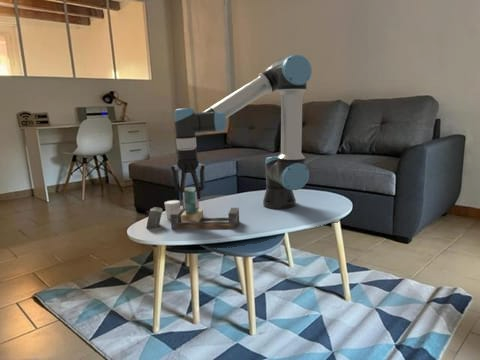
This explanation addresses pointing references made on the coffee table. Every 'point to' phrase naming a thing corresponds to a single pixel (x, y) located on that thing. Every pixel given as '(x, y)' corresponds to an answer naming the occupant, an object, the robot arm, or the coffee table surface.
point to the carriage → (191, 208)
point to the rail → (206, 221)
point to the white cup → (171, 207)
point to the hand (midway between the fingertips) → (191, 207)
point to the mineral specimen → (154, 217)
